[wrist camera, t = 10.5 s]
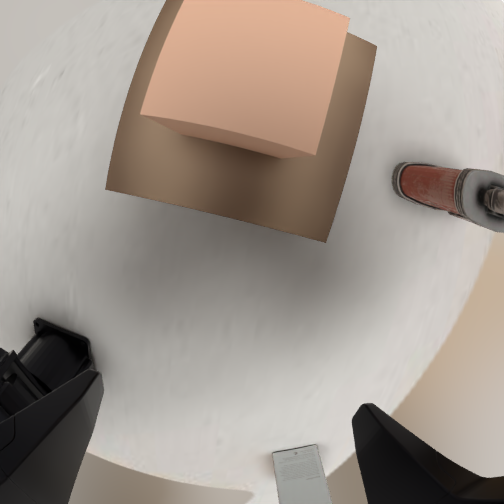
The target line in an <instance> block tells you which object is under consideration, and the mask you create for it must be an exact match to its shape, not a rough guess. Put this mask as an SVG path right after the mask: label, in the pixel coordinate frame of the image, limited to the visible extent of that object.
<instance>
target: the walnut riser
mask: <svg viewBox="0 0 504 504" xmlns="http://www.w3.org/2000/svg"><path fill="white" fill-rule="evenodd" d="M183 1H184V0H166V2H165V4H164V6H163V8H162V10H161V12H160V14H159V16H158V18H157V20H156V22H155V24H154V26H153V29H152V31H151V33H150V35H149V38H148V40H147V42H146V45H145V47H144V50H143V52H142V55H141V57H140V60H139V62H138V65H137V68H136V71H135V73H134V76H133V79H132V82H131V85H130V88H129V91H128V94H127V98H126V101H125V104H124V108H123V111H122V115H121V118H120V122H119V126H118V130H117V134H116V138H115V142H114V147H113V151H112V156H111V161H110V166H109V171H108V176H107V182H106V188H105V190H110V191H115V192H119V193H124V194H129V195H133V196H138V197H143V198H147V199H152V200H156V201H161V202H165V203H169V204H174V205H178V206H182V207H187V208H191V209H195V210H200V211H204V212H208V213H212V214H216V215H220V216H224V217H229V218H233V219H237V220H241V221H245V222H249V223H253V224H256V225H260V226H264V227H268V228H272V229H276V230H280V231H284V232H287V233H291V234H295V235H299V236H302V237H306V238H310V239H314V240H317V241H321V242H325V243H326V241H327V238H328V235H329V232H330V229H331V226H332V223H333V220H334V217H335V213H336V210H337V207H338V204H339V201H340V197H341V194H342V191H343V187H344V184H345V181H346V177H347V174H348V170H349V167H350V163H351V159H352V156H353V152H354V148H355V145H356V141H357V137H358V133H359V129H360V125H361V121H362V117H363V113H364V108H365V104H366V100H367V95H368V91H369V86H370V81H371V76H372V71H373V66H374V61H375V55H376V50H377V46H376V45H374V44H372V43H370V42H368V41H365V40H363V39H361V38H359V37H357V36H355V35H352V34H350V33H348V32H347V34H346V38H345V42H344V47H343V51H342V55H341V60H340V64H339V68H338V72H337V76H336V80H335V84H334V88H333V92H332V96H331V100H330V104H329V108H328V111H327V115H326V119H325V123H324V126H323V130H322V134H321V138H320V141H319V145H318V148H317V152H316V155H314V156H303V157H293V158H283V159H281V158H277V157H274V156H270V155H267V154H263V153H259V152H256V151H252V150H248V149H244V148H240V147H236V146H232V145H228V144H224V143H219V142H215V141H210V140H206V139H201V138H196V137H191V136H186V135H181V134H179V133H177V132H175V131H173V130H171V129H169V128H167V127H165V126H163V125H161V124H159V123H157V122H155V121H153V120H151V119H149V118H147V117H144V116H142V115H140V112H141V109H142V105H143V102H144V99H145V96H146V92H147V89H148V86H149V83H150V80H151V77H152V74H153V72H154V69H155V66H156V63H157V61H158V58H159V55H160V53H161V50H162V48H163V45H164V43H165V40H166V38H167V36H168V33H169V31H170V29H171V26H172V24H173V22H174V20H175V18H176V16H177V13H178V11H179V9H180V7H181V5H182V3H183Z"/></svg>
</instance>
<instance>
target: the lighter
mask: <svg viewBox="0 0 504 504" xmlns="http://www.w3.org/2000/svg"><path fill="white" fill-rule="evenodd" d="M392 186H393V189H394V191H395V193H396V194H397V195H398V196H400V197H402V198H404V199H406V200H408V201H411V202H413V203H415V204H419V205H422V206H425V207H428V208H432V209H435V210H444V211H448V213H449V214H450V215H453V216H455V217H458V218H461V219H464V220H467V221H469V222H472V223H475V224H477V225H479V226H482V227H485V228H487V229H490V230H492V231H495V232H503V233H504V175H501V174H498V173H495V172H492V171H487V170H480V169H468V168H467V169H463V170H458V169H450V168H443V167H441V166H437V165H432V164H427V163H415V162H402V163H399V164H398V165H397V166H396V167H395V169H394V171H393V175H392Z"/></svg>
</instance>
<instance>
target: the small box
mask: <svg viewBox="0 0 504 504" xmlns="http://www.w3.org/2000/svg"><path fill="white" fill-rule="evenodd" d="M272 455H273V462H274V470H275V477H276V484H277V491H278V498H279V504H332V500H331V496H330V493H329V488H328V484H327V481H326V477H325V473H324V470H323V466H322V462H321V459H320V455H319V452H318V448H317V445H312V446H308V447H303V448H298V449H293V450H288V451H282V452H276V453H273V454H272Z"/></svg>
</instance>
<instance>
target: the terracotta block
mask: <svg viewBox="0 0 504 504" xmlns="http://www.w3.org/2000/svg"><path fill="white" fill-rule="evenodd" d="M349 20H350V18H348V17H346V16H344V15H341V14H339V13H336V12H334V11H331V10H328V9H326V8H323V7H320V6H317V5H314V4H311V3H308V2H305V1H302V0H184V1H183V3H182V5H181V7H180V9H179V11H178V13H177V16H176V18H175V20H174V22H173V24H172V26H171V29H170V31H169V33H168V36H167V38H166V40H165V43H164V45H163V48H162V50H161V53H160V55H159V58H158V61H157V63H156V66H155V69H154V72H153V74H152V77H151V80H150V83H149V86H148V89H147V92H146V96H145V99H144V102H143V105H142V109H141V112H140V115H142V116H144V117H147V118H149V119H151V120H153V121H155V122H157V123H159V124H161V125H163V126H165V127H167V128H169V129H171V130H173V131H175V132H177V133H179V134H181V135H186V136H191V137H196V138H201V139H206V140H210V141H215V142H219V143H224V144H228V145H232V146H236V147H240V148H244V149H248V150H252V151H256V152H259V153H263V154H267V155H270V156H274V157H277V158H281V159H283V158H293V157H303V156H314V155H316V152H317V148H318V145H319V141H320V138H321V134H322V130H323V126H324V123H325V119H326V115H327V111H328V108H329V104H330V100H331V96H332V92H333V88H334V84H335V80H336V76H337V72H338V68H339V64H340V60H341V55H342V51H343V47H344V42H345V38H346V34H347V29H348V25H349Z"/></svg>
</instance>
